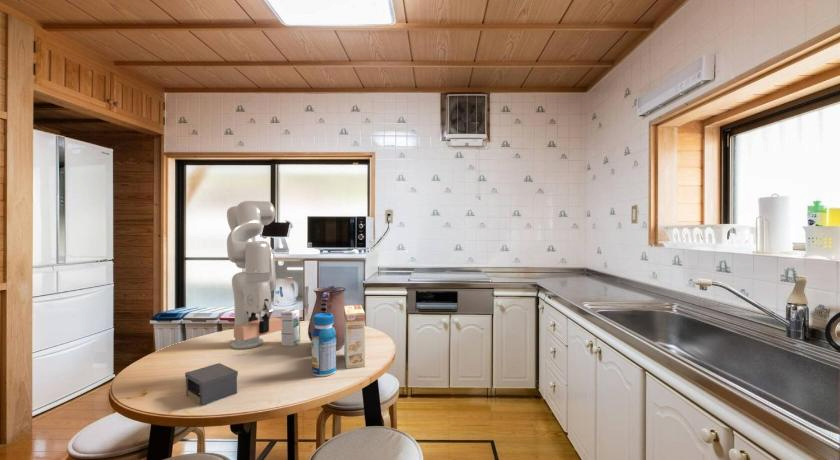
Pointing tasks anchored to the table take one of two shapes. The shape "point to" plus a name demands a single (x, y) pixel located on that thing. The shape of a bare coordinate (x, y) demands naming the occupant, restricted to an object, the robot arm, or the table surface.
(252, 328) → the terracotta slab
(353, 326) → the coffeecake box
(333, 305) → the ceramic pitcher
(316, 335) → the beverage bottle
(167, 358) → the table surface
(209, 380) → the grey open-ended tunnel
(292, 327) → the syrup box
